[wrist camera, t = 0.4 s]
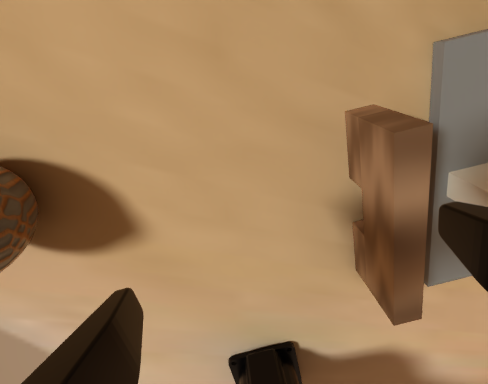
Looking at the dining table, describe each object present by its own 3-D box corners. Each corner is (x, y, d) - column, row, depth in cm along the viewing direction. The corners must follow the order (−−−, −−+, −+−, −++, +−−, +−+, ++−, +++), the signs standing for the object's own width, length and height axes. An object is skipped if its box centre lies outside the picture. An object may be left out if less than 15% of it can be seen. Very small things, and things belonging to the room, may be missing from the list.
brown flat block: (377, 264, 27) (421, 318, 21) (355, 269, 27) (393, 325, 21) (373, 104, 20) (433, 123, 15) (344, 111, 20) (394, 132, 15)
